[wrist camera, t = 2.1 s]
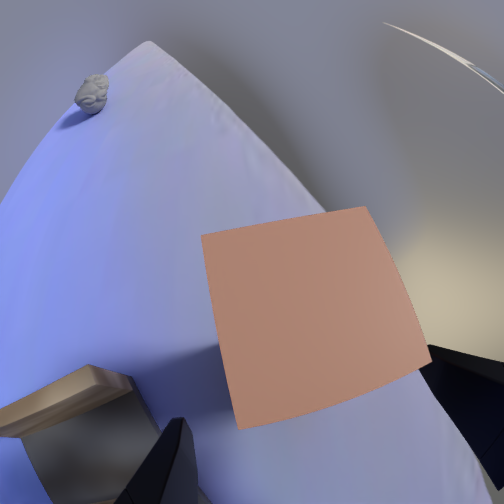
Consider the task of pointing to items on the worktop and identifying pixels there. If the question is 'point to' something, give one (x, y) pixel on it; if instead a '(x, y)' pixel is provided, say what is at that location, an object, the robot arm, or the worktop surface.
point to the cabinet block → (308, 314)
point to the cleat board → (84, 435)
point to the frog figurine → (93, 94)
